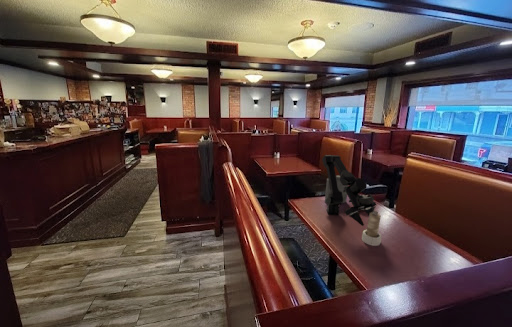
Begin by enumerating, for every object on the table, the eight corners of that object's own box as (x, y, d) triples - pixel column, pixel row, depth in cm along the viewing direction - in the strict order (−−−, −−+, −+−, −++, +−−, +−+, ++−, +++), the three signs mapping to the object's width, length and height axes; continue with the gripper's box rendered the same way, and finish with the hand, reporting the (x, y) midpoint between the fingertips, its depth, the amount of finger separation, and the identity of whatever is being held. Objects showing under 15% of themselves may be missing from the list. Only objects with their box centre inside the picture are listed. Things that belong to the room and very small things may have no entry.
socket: (364, 244, 114) (365, 237, 113) (360, 235, 122) (361, 228, 121) (382, 246, 112) (383, 239, 111) (376, 237, 120) (378, 230, 119)
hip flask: (344, 200, 166) (348, 174, 161) (347, 202, 162) (350, 176, 157) (324, 201, 165) (326, 175, 160) (326, 203, 161) (328, 177, 156)
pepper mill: (367, 241, 115) (371, 213, 111) (364, 236, 120) (368, 209, 116) (377, 242, 114) (382, 214, 110) (374, 237, 119) (378, 210, 115)
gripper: (352, 193, 113) (368, 223, 107) (376, 187, 121) (392, 214, 115) (338, 201, 122) (352, 229, 115) (361, 195, 130) (376, 221, 124)
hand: (369, 223), depth 117 cm, fingers open, 9 cm apart
